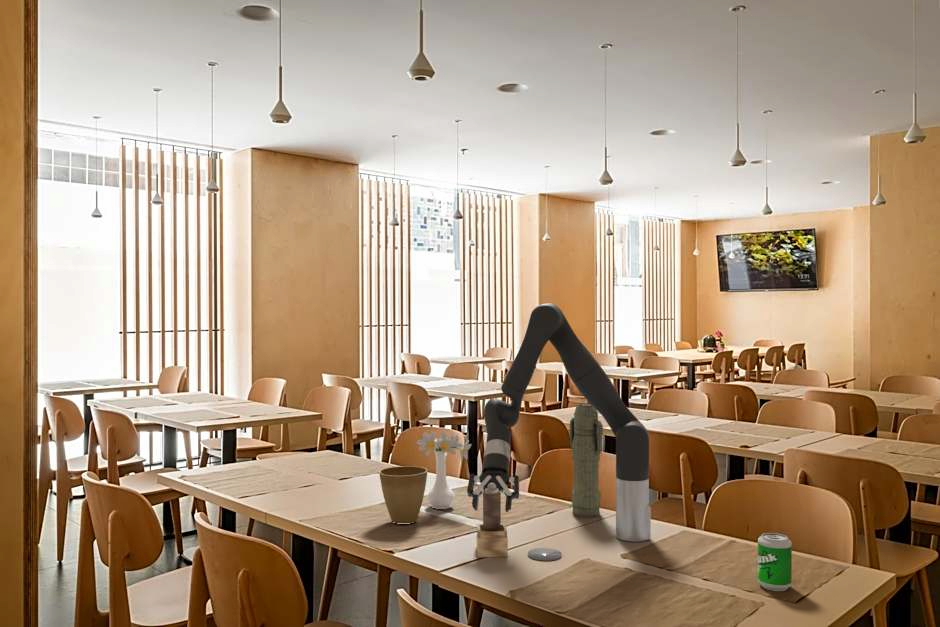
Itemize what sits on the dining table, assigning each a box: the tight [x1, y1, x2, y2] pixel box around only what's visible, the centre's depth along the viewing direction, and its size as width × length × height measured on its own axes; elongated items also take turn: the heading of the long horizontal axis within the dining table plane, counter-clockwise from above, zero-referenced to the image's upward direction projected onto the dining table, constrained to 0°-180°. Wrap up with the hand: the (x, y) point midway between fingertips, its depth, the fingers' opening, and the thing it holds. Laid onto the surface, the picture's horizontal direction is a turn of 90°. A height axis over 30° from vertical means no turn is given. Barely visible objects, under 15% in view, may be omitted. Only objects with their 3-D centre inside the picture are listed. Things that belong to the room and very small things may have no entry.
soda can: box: [757, 532, 793, 592], centre depth 187 cm, size 8×8×12 cm
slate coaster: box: [527, 547, 563, 562], centre depth 211 cm, size 9×9×1 cm
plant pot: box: [378, 465, 428, 523], centre depth 244 cm, size 15×15×16 cm
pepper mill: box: [482, 483, 502, 531], centre depth 214 cm, size 5×5×14 cm
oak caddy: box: [476, 523, 509, 558], centre depth 214 cm, size 8×9×6 cm
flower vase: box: [416, 430, 472, 510], centre depth 261 cm, size 13×18×25 cm
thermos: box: [569, 403, 604, 518], centre depth 252 cm, size 9×12×35 cm
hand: (491, 509), depth 214 cm, fingers open, 8 cm apart
